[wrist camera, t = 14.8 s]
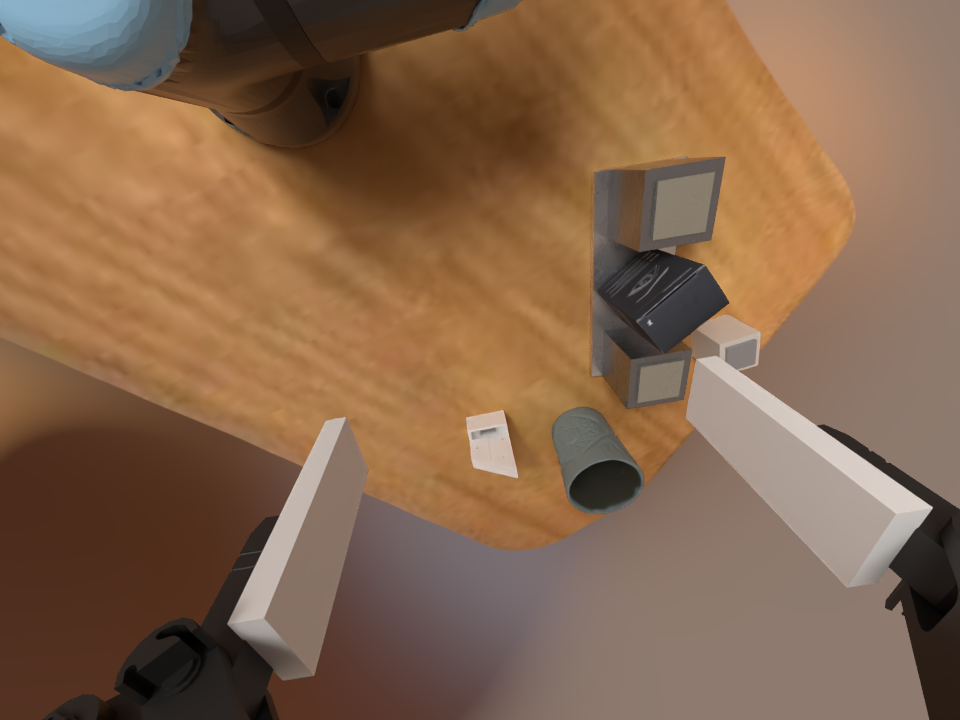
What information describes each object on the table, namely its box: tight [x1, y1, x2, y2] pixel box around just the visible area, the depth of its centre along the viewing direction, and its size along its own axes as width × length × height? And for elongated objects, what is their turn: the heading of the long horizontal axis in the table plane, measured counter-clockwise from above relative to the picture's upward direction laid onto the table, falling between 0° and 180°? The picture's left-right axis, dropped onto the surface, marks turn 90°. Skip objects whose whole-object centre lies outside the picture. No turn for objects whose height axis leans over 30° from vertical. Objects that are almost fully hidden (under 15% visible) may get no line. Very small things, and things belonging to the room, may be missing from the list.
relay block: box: [691, 314, 761, 371], centre depth 47 cm, size 5×5×6 cm
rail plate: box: [589, 157, 725, 409], centre depth 40 cm, size 26×10×9 cm, turn 8°
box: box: [597, 249, 729, 354], centre depth 39 cm, size 8×6×11 cm
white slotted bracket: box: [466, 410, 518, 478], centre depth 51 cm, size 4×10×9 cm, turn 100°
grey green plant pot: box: [552, 407, 644, 514], centre depth 50 cm, size 10×10×12 cm
